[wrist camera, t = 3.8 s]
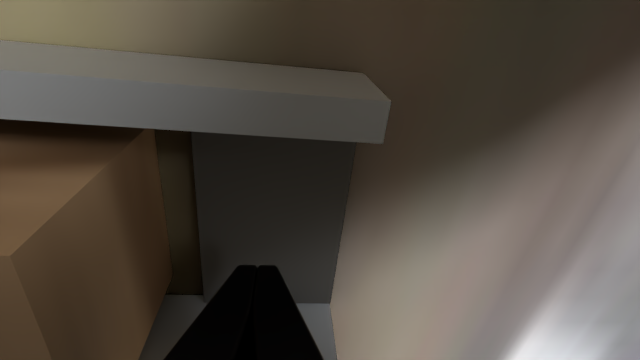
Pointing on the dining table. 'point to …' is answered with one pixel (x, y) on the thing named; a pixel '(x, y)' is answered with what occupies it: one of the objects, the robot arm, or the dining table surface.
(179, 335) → the channel
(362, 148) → the dining table surface
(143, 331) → the block
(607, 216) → the dining table surface
